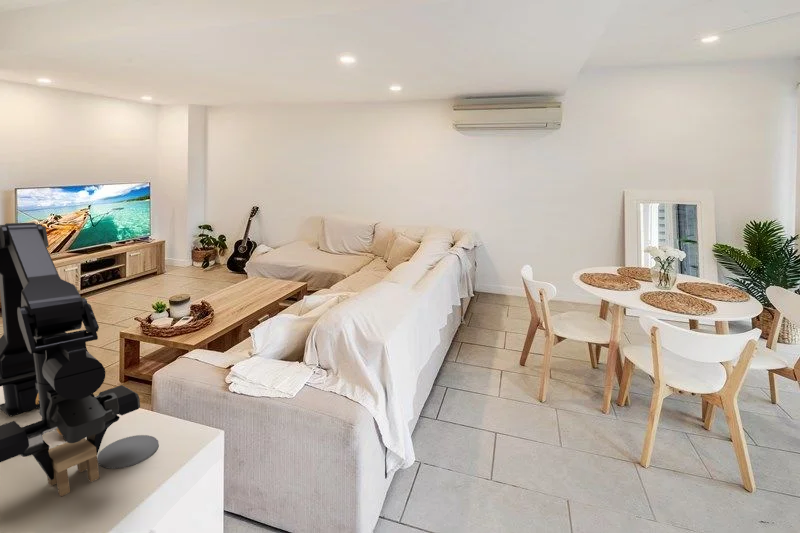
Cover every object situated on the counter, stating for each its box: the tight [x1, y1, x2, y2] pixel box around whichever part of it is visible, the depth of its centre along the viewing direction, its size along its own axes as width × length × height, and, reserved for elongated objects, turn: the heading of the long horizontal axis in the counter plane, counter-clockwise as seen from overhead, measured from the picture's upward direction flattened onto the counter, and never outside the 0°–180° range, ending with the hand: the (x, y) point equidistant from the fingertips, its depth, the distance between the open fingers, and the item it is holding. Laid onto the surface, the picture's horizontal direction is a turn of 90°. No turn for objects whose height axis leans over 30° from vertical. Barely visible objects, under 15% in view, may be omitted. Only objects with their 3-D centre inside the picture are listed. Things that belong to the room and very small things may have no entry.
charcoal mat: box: [97, 434, 159, 469], centre depth 74 cm, size 9×9×1 cm
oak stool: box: [46, 438, 100, 497], centre depth 66 cm, size 5×5×6 cm
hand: (72, 469), depth 66 cm, fingers open, 5 cm apart
